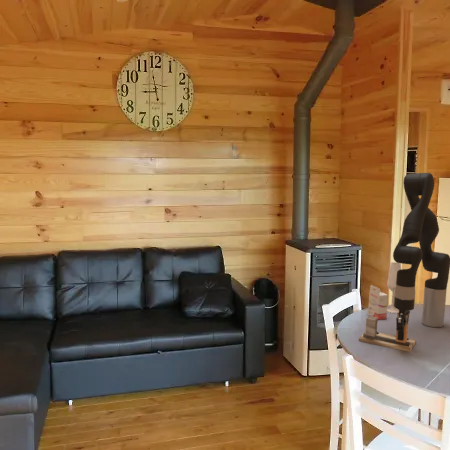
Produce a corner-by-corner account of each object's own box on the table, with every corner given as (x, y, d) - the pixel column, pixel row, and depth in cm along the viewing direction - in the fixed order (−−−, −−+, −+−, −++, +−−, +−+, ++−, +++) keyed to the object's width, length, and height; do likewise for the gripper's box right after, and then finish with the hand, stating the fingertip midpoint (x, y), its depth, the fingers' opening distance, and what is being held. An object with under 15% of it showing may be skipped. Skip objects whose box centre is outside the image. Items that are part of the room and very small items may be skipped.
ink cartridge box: (387, 319, 227) (389, 288, 225) (377, 320, 226) (380, 289, 224) (376, 313, 235) (378, 284, 234) (367, 314, 234) (369, 284, 232)
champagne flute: (385, 312, 238) (388, 264, 235) (385, 308, 245) (388, 261, 241) (399, 313, 236) (403, 265, 233) (399, 309, 243) (402, 262, 240)
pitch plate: (366, 332, 208) (368, 310, 207) (415, 342, 198) (417, 319, 197) (358, 341, 198) (360, 318, 197) (410, 351, 188) (411, 327, 187)
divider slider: (400, 336, 200) (401, 317, 198) (409, 338, 198) (411, 319, 197) (395, 343, 192) (396, 324, 191) (404, 345, 190) (406, 325, 189)
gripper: (398, 290, 198) (395, 331, 200) (390, 298, 186) (387, 341, 188) (418, 293, 194) (414, 335, 196) (411, 302, 182) (407, 346, 184)
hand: (401, 338), depth 192 cm, fingers closed on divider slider, 3 cm apart
